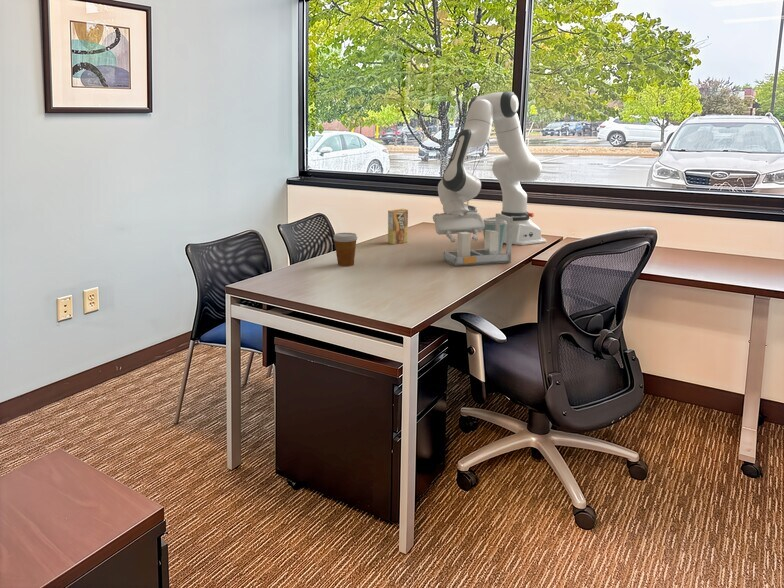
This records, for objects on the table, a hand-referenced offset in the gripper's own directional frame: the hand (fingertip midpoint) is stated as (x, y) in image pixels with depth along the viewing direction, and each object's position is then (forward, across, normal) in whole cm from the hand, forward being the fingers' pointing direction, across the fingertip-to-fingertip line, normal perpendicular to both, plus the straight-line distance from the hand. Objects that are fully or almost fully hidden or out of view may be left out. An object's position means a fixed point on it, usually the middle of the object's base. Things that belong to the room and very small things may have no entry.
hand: (464, 240), depth 252 cm
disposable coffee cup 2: (-4, +20, +17) cm, 26 cm away
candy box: (-28, -12, +41) cm, 51 cm away
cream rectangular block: (+5, 0, +6) cm, 8 cm away
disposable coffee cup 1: (-2, -46, +14) cm, 48 cm away
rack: (+6, +6, +7) cm, 11 cm away
